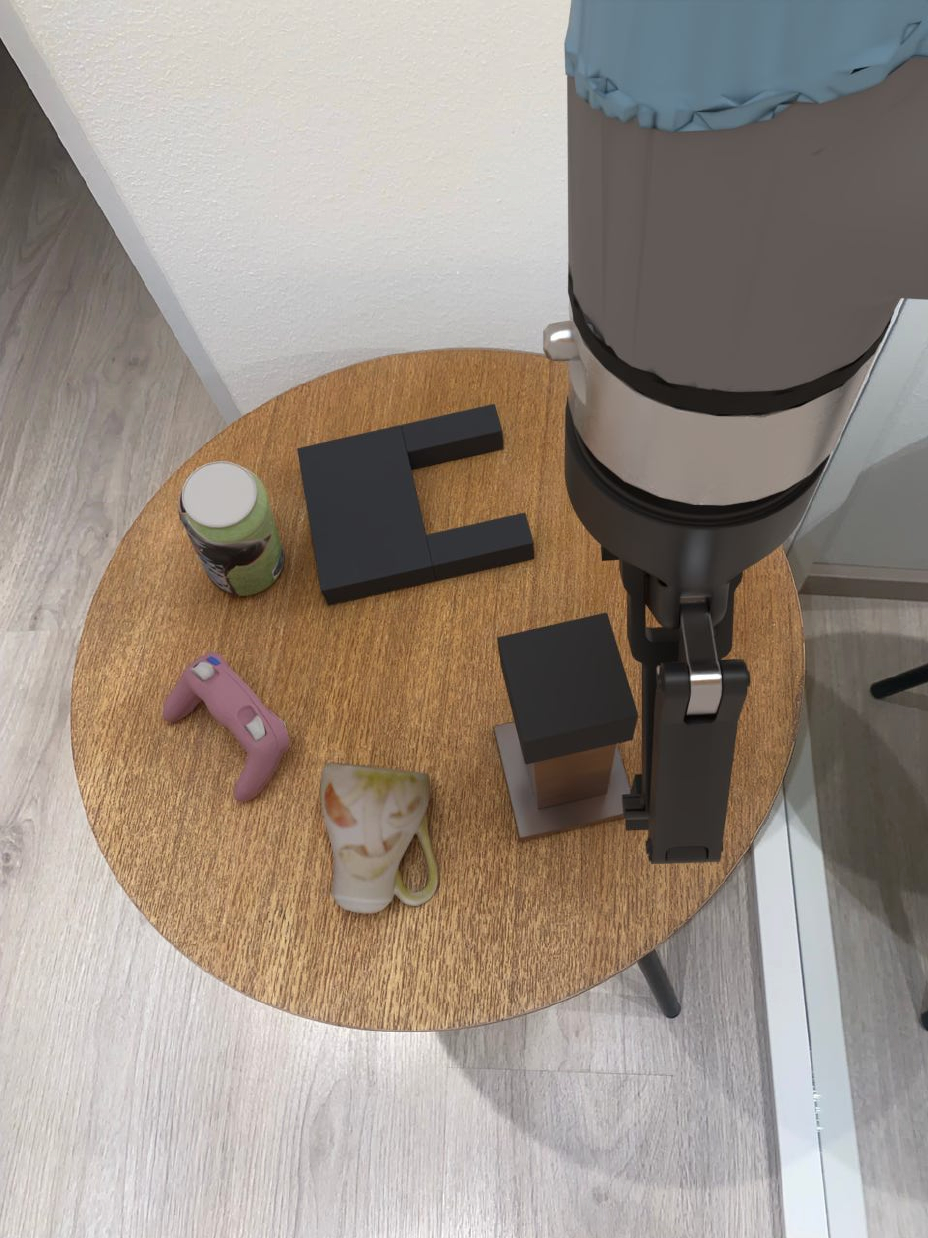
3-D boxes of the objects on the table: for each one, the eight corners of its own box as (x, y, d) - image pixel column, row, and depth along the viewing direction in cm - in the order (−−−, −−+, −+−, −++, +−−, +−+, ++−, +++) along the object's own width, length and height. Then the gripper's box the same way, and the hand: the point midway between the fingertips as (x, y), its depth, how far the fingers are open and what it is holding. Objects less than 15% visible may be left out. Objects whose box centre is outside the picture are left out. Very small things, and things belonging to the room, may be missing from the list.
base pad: (496, 422, 79) (494, 403, 77) (534, 558, 74) (533, 542, 71) (304, 465, 79) (296, 447, 77) (327, 605, 73) (320, 591, 71)
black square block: (603, 641, 55) (607, 611, 51) (633, 740, 53) (639, 716, 49) (500, 665, 55) (496, 636, 51) (525, 765, 52) (523, 742, 49)
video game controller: (292, 780, 69) (305, 721, 64) (240, 813, 67) (249, 755, 62) (209, 690, 73) (215, 628, 68) (156, 718, 70) (158, 656, 65)
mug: (313, 926, 64) (266, 822, 58) (372, 815, 71) (334, 713, 65) (417, 945, 61) (377, 837, 55) (467, 828, 68) (436, 722, 62)
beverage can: (229, 524, 77) (176, 435, 66) (314, 545, 76) (274, 458, 65) (196, 593, 75) (136, 512, 64) (284, 616, 73) (237, 538, 62)
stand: (604, 704, 68) (615, 621, 56) (636, 815, 65) (656, 753, 52) (493, 730, 68) (479, 653, 55) (519, 842, 65) (511, 787, 52)
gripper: (541, 105, 33) (547, 463, 52) (600, 860, 22) (579, 957, 41) (770, 84, 32) (690, 453, 51) (942, 848, 21) (760, 952, 41)
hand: (641, 679), depth 46 cm, fingers open, 13 cm apart
